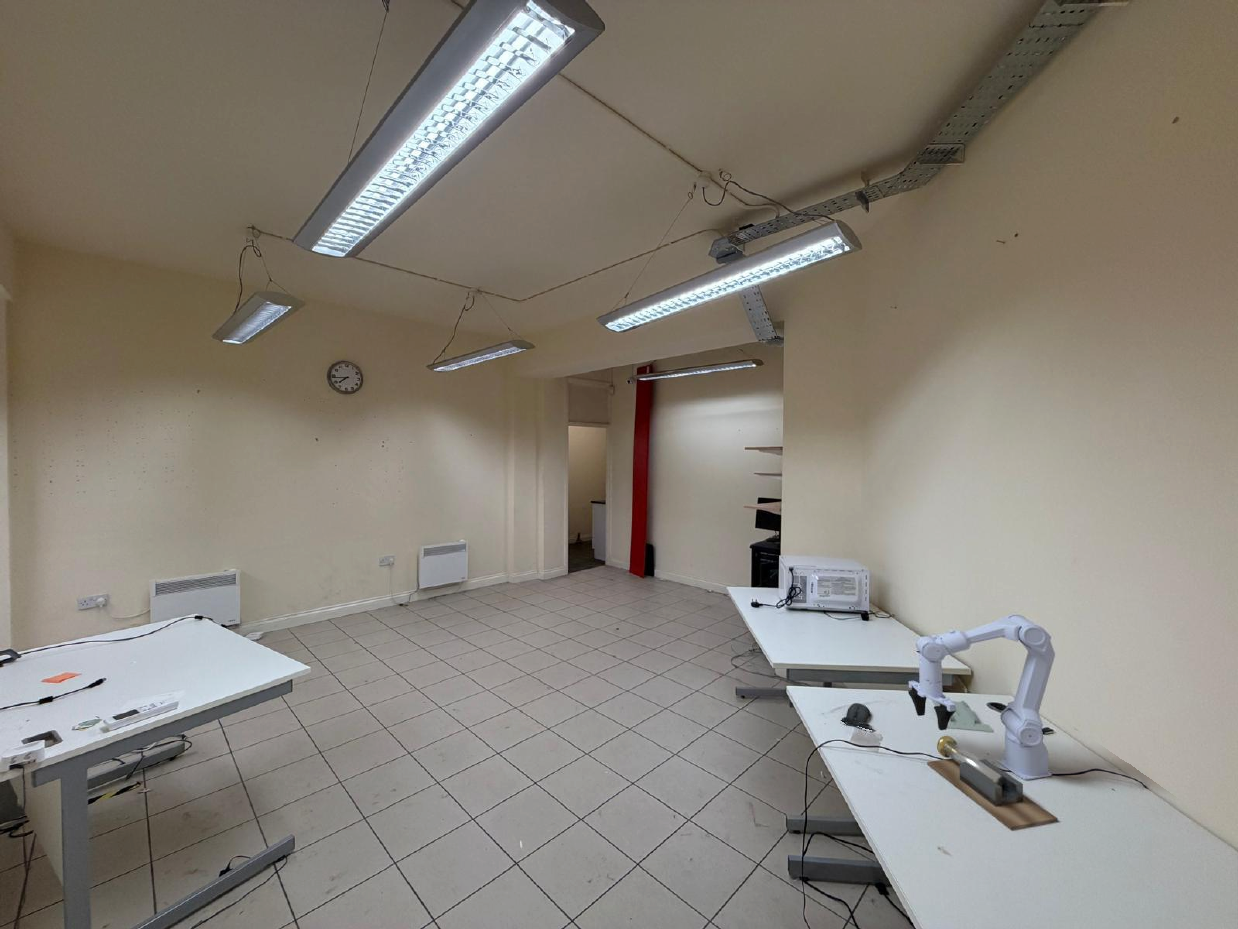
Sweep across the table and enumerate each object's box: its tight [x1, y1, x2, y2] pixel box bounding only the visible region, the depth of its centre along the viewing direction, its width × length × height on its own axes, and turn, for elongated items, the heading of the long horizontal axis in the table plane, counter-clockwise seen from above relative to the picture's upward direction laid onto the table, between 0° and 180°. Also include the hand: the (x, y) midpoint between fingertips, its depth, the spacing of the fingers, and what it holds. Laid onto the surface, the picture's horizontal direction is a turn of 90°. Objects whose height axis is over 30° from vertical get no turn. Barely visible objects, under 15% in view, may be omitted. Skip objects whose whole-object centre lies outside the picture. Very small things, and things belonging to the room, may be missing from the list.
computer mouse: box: [840, 702, 874, 731], centre depth 156 cm, size 10×15×4 cm
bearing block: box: [959, 758, 1024, 807], centre depth 120 cm, size 9×10×5 cm
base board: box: [926, 757, 1059, 831], centre depth 121 cm, size 14×24×1 cm, turn 10°
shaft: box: [936, 735, 1004, 787], centre depth 126 cm, size 6×16×6 cm, turn 10°
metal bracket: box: [931, 697, 994, 734], centre depth 154 cm, size 14×6×15 cm
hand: (931, 722), depth 136 cm, fingers open, 7 cm apart
